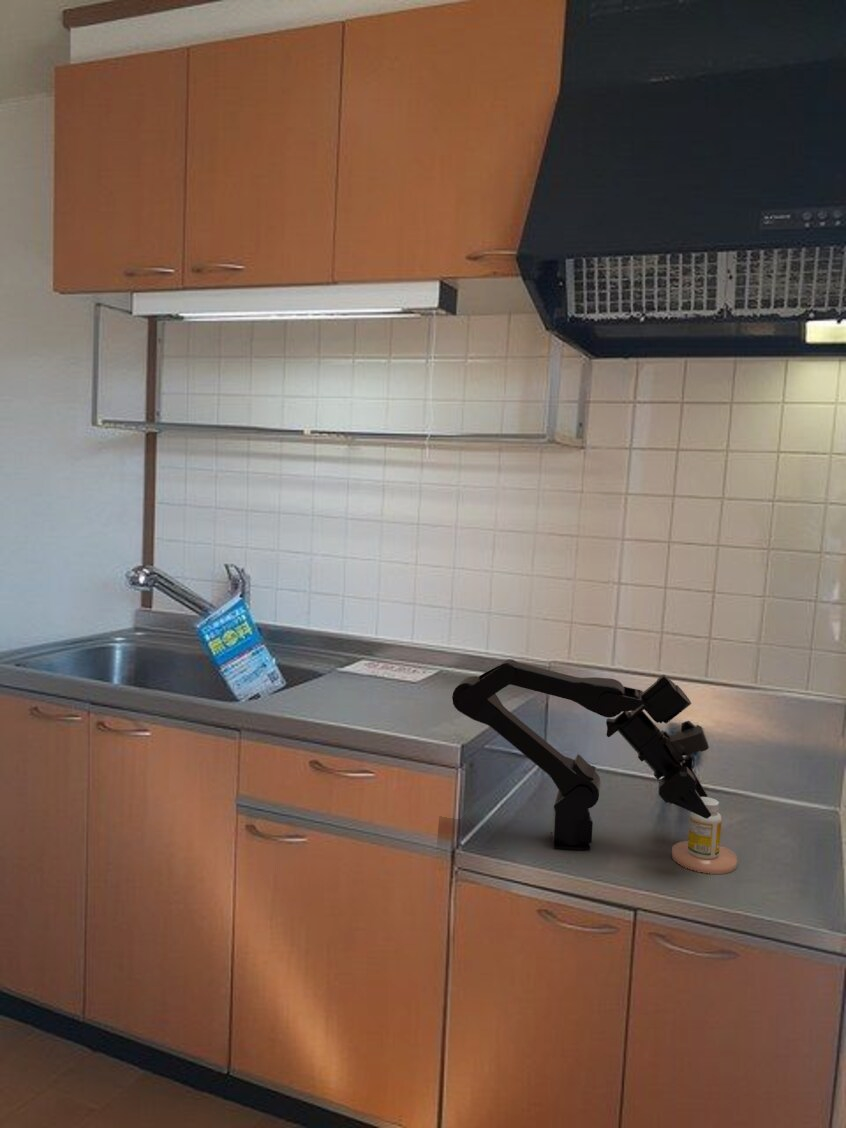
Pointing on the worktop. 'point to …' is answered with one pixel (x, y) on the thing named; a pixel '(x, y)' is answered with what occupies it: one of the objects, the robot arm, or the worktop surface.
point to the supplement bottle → (705, 832)
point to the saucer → (705, 860)
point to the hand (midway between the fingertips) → (707, 807)
